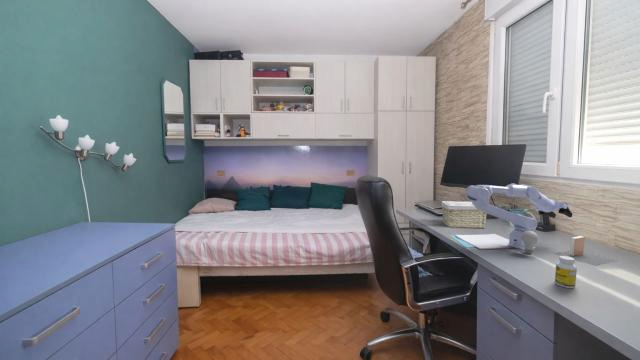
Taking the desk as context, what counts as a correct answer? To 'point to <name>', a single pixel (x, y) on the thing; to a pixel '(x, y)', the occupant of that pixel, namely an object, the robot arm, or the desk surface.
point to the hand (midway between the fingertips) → (562, 216)
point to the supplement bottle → (565, 272)
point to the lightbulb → (529, 240)
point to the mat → (588, 258)
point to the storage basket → (462, 215)
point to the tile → (577, 246)
